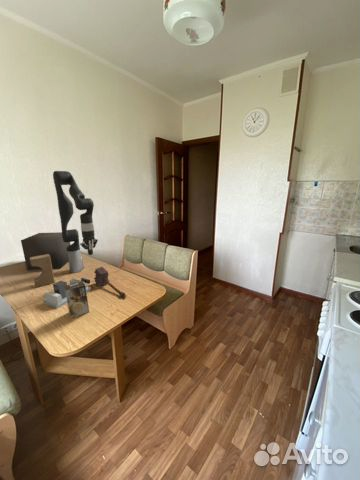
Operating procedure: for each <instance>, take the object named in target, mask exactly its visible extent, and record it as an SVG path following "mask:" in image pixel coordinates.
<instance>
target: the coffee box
mask: <svg viewBox="0 0 360 480" xmlns="http://www.w3.org/2000/svg"><path fill="white" fill-rule="evenodd" d="M80 281H81V280H80ZM85 285H86V283H85V284H84V283H83V281H81V282H77V283H73V284H70V283H69V284H67V285H65V286H64V288H65V293H66V298H67V303H66V304H67V309H68V314H69V316H70V319H73V318H77V317H79V316H82V315H85V314H87V313H90V307H89V301H88V296H87V292H86V287H85Z"/></svg>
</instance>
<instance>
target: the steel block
mask: <svg viewBox="0 0 360 480" xmlns="http://www.w3.org/2000/svg"><path fill="white" fill-rule="evenodd" d="M65 285H68V283H67V281H64V280H59V281H57V282H55V283H52V286H53V287H52V288H53V292H54V293H57V294H60V295H61V297H62V299H64V298H66V293H65V288H64V286H65Z"/></svg>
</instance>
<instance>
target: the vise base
mask: <svg viewBox="0 0 360 480" xmlns="http://www.w3.org/2000/svg"><path fill="white" fill-rule="evenodd" d="M90 291H91V287H90V286H87V285H86V293H87V292H90ZM43 294H44V298H45V299H44V300H42V301H43V304H44V305H47V306H49V307H53V308H56V309H59V308H61V307H62V306H65V305H66V304H67V298H64V299H62V297H61V295H60V294H57V293H54V291H51V290H46V291H44V293H43Z"/></svg>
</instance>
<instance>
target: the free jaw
mask: <svg viewBox="0 0 360 480" xmlns="http://www.w3.org/2000/svg"><path fill="white" fill-rule="evenodd" d="M81 281H83V283H84V284H85V287H86V286H87V285H89V284H91V279H88V278H85V277H81V278H80V280H79V279H76V278H72V279H70V280H69V284H73V283H77V282H81ZM86 284H87V285H86Z"/></svg>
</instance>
